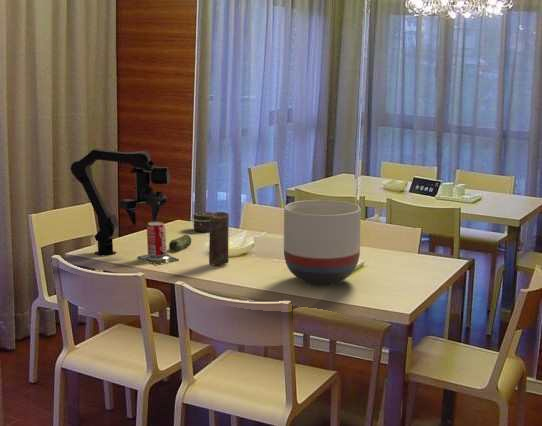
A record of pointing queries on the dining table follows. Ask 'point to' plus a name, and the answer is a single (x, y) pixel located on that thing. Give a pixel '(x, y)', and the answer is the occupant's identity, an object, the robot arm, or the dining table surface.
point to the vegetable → (180, 243)
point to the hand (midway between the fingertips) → (144, 222)
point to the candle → (218, 238)
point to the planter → (322, 240)
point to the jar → (202, 222)
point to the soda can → (156, 239)
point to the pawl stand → (158, 259)
